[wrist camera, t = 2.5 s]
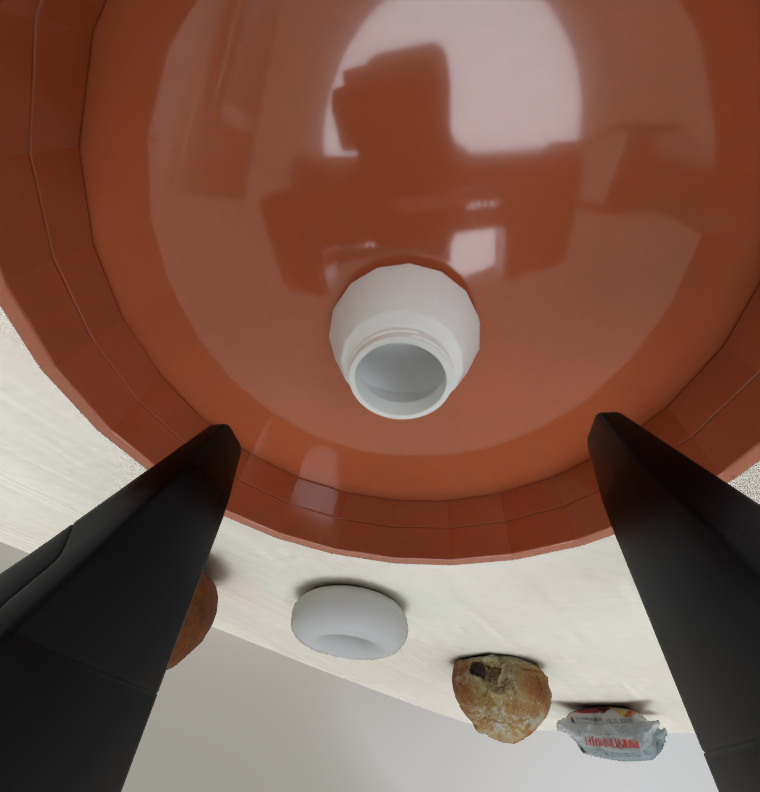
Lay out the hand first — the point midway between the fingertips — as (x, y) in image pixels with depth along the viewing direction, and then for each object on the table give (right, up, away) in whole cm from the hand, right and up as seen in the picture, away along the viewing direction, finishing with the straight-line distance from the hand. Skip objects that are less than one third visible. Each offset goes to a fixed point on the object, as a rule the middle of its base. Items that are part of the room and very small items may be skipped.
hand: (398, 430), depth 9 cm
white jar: (0, +3, +4) cm, 5 cm away
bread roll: (+13, -30, +31) cm, 45 cm away
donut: (-3, -17, +22) cm, 28 cm away
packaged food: (+30, -41, +39) cm, 64 cm away
